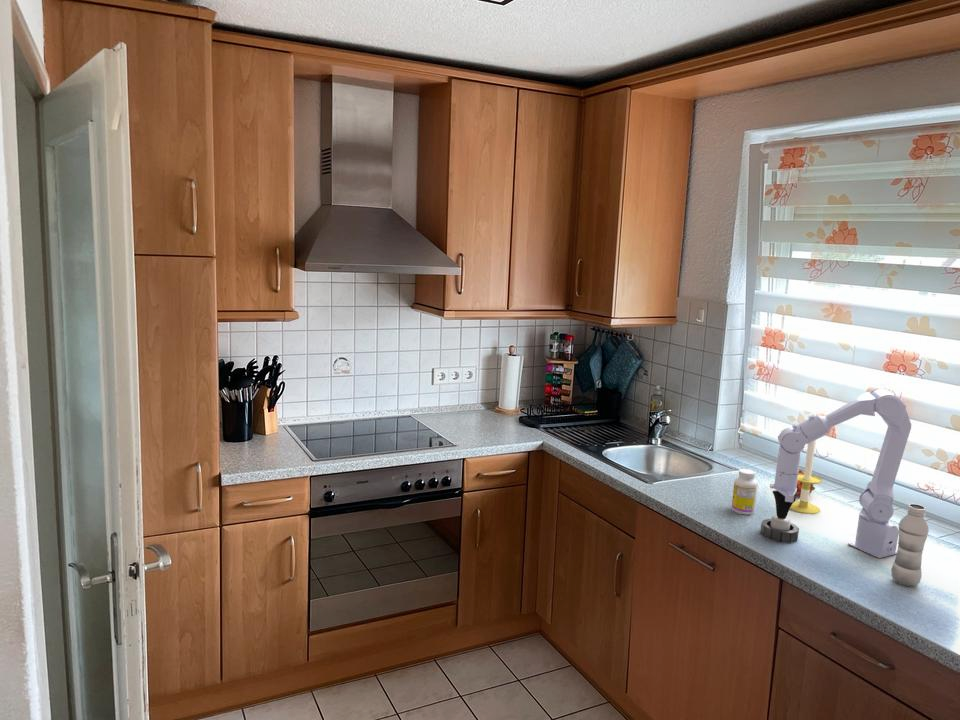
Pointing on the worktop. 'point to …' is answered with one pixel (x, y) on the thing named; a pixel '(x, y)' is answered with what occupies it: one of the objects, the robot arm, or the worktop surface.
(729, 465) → the worktop surface
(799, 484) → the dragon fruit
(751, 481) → the supplement bottle
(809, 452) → the candle
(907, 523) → the plastic bottle
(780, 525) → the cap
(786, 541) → the segmented grey ring
